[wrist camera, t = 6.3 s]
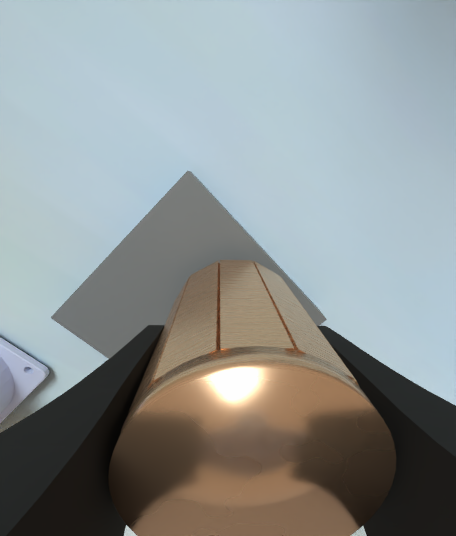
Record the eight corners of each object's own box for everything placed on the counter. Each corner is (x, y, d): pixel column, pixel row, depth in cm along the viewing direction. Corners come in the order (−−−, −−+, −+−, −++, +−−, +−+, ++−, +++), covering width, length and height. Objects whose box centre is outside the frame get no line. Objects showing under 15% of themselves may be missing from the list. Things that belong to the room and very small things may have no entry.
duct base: (65, 306, 13) (-27, 379, 8) (191, 171, 11) (167, 163, 6) (196, 401, 16) (185, 500, 11) (317, 308, 14) (372, 378, 9)
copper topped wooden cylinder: (176, 367, 12) (125, 573, 5) (170, 257, 10) (85, 370, 4) (288, 366, 12) (365, 563, 6) (300, 259, 10) (430, 367, 4)
